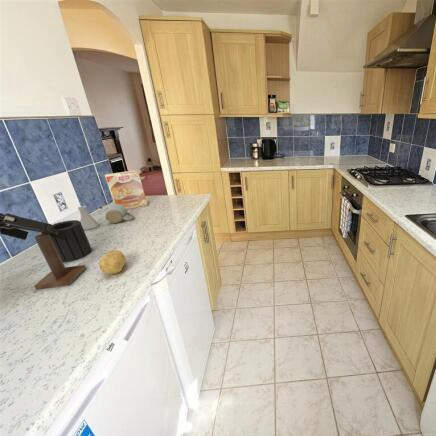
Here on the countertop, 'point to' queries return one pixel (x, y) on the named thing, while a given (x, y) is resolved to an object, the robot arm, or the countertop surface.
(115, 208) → the ceramic mug
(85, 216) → the flask
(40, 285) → the peg
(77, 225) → the tape roll
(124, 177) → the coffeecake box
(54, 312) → the countertop surface
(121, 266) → the potato
